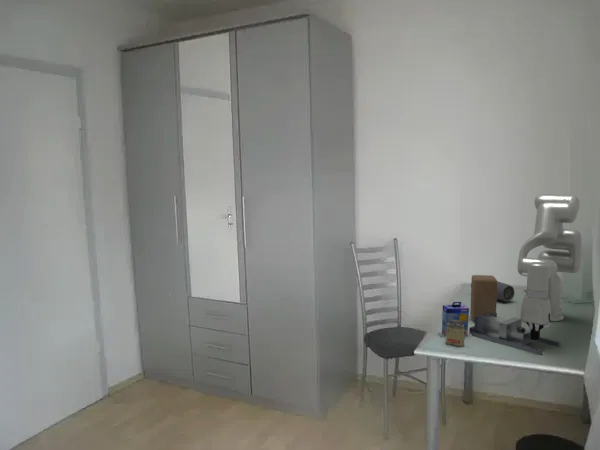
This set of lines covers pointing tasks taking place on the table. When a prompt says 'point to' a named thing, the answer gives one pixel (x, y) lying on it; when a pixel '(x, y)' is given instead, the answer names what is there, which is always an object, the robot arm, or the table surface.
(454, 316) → the ink cartridge box
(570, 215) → the robot arm
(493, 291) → the block
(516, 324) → the sliding jaw
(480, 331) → the frame
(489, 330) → the steel block
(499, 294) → the bluetooth speaker
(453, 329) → the lighter
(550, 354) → the table surface
